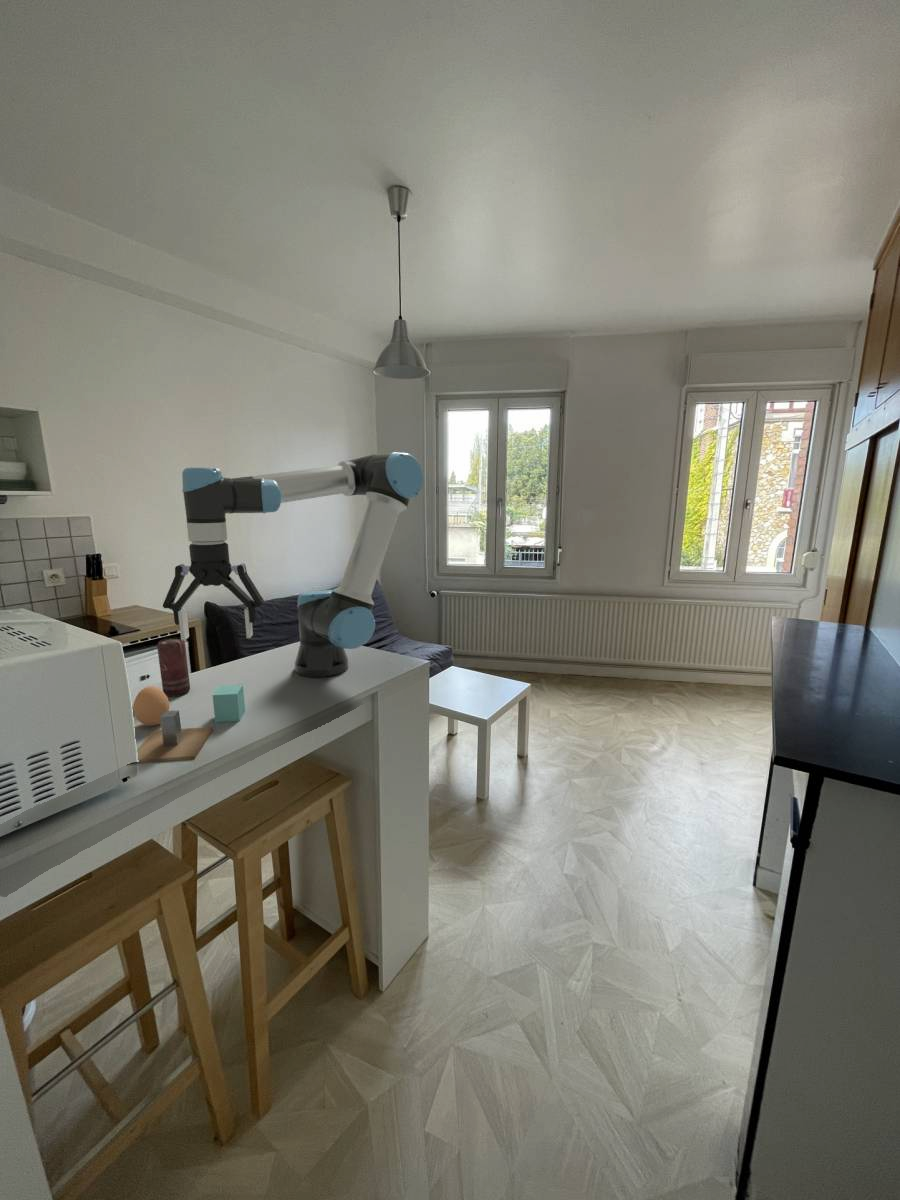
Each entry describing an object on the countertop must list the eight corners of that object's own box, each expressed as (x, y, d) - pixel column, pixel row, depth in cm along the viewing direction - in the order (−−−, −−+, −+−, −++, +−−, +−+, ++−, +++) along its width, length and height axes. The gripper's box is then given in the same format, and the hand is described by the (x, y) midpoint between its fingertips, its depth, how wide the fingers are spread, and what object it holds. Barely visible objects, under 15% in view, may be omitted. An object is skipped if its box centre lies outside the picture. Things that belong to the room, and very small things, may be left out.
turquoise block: (245, 710, 116) (242, 684, 115) (239, 720, 111) (237, 693, 110) (221, 712, 115) (219, 685, 114) (215, 722, 110) (212, 695, 109)
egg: (152, 716, 113) (147, 679, 111) (178, 719, 112) (173, 682, 110) (128, 730, 107) (122, 691, 104) (155, 733, 105) (150, 694, 103)
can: (179, 698, 123) (173, 645, 119) (157, 696, 124) (150, 643, 121) (196, 688, 128) (191, 637, 125) (175, 686, 130) (169, 635, 126)
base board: (213, 729, 107) (213, 726, 107) (194, 758, 96) (194, 756, 96) (154, 733, 105) (153, 730, 105) (127, 763, 94) (127, 760, 94)
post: (182, 739, 102) (178, 710, 100) (177, 745, 99) (174, 716, 98) (168, 739, 101) (165, 711, 100) (163, 746, 99) (160, 717, 98)
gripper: (272, 540, 110) (279, 630, 115) (153, 540, 106) (164, 634, 111) (265, 544, 103) (272, 640, 108) (137, 544, 99) (150, 644, 104)
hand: (217, 637), depth 110 cm, fingers open, 13 cm apart
